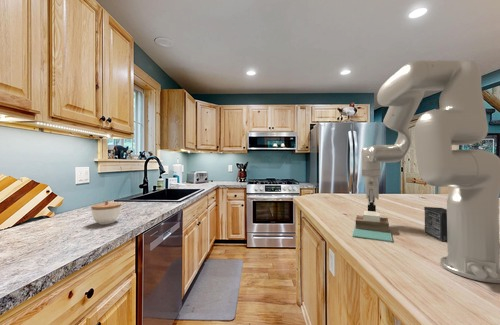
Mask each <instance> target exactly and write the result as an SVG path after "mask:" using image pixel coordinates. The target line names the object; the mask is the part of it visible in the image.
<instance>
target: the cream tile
mask: <svg viewBox="0 0 500 325" xmlns="http://www.w3.org/2000/svg"><path fill="white" fill-rule="evenodd" d="M362 216H363V220H364V221H370V222H380V217H381V213H380V211H376V212H374V211H368V210H364V211H363V215H362Z"/></svg>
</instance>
